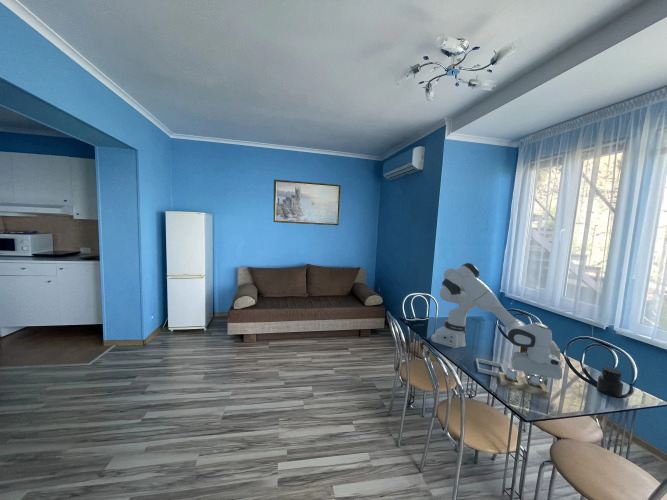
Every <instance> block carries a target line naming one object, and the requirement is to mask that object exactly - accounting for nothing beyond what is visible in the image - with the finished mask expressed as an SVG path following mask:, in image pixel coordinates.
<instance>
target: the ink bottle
mask: <svg viewBox="0 0 667 500" xmlns="http://www.w3.org/2000/svg"><path fill="white" fill-rule="evenodd" d="M622 375H623V372H622V371H621V370H618V369H616V368H614V367H609V366H603V367H602V371H601V375H599V376H598V377H597V382H596V383H597V385H596V390H598V391H599V392H601V393H603V394H605V395H607V396H609V397H613V398H621V397H622V395H623V390H624V384H623V382H622V381H621V380H622Z"/></svg>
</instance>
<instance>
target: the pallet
mask: <svg viewBox="0 0 667 500" xmlns="http://www.w3.org/2000/svg"><path fill="white" fill-rule="evenodd" d="M506 373H507V372H505V373H502V371H498V376H497V378H498V380H499V383H500V386H502V387H506V388H509V389H514V390H517V391H522V392H526V393H530V394H534V395H538V396H541V397H542V396H543V397H546V398H550V394H551V393H550V391H549V389H548V387H547V385H545V384H544V383H543V384H540V385H539V388H537V387H533V386H529V384H528V383H529V381H527V380H526V379H525V377H524V376H520V375H517V377H516V382H512V381H508V380H506Z"/></svg>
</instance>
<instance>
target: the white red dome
mask: <svg viewBox="0 0 667 500" xmlns="http://www.w3.org/2000/svg"><path fill="white" fill-rule="evenodd" d="M549 350H550V354H551V355H554V356H556V357H557V358H558V359H559V360H560V361H561V349H560V348H559V347H558V345H557V344H556V342H555V341H554V340H553V339H552V342H551V346H550V348H549Z"/></svg>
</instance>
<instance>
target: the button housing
mask: <svg viewBox="0 0 667 500" xmlns="http://www.w3.org/2000/svg"><path fill="white" fill-rule="evenodd" d="M529 375H530V373H528V374H527V376H529ZM540 377H541V376H540ZM542 378H543V376H542V377H541V378H540V379H542ZM548 381H549V380H548V378H547V379H546V380H545V381H544V384H545V386H547V385H548Z"/></svg>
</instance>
